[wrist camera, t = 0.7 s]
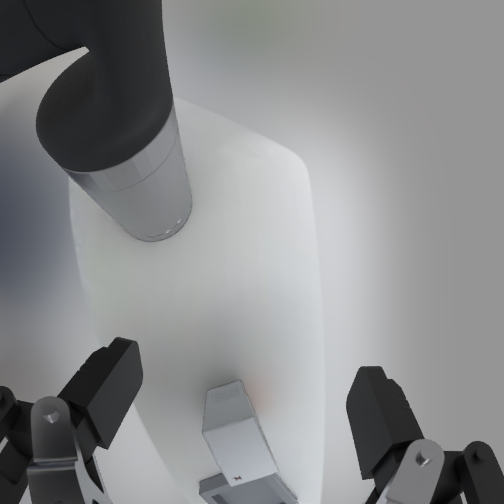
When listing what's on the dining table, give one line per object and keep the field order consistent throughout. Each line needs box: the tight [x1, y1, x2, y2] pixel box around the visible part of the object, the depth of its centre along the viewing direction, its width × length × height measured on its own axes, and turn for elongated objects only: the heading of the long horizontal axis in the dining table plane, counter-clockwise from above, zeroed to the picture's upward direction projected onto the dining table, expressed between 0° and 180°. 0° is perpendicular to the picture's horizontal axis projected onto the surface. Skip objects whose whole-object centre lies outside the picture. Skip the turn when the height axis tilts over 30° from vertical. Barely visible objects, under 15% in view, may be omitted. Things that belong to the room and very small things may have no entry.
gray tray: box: [199, 473, 299, 504], centre depth 24 cm, size 10×9×3 cm
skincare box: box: [202, 380, 279, 487], centre depth 22 cm, size 6×4×12 cm
